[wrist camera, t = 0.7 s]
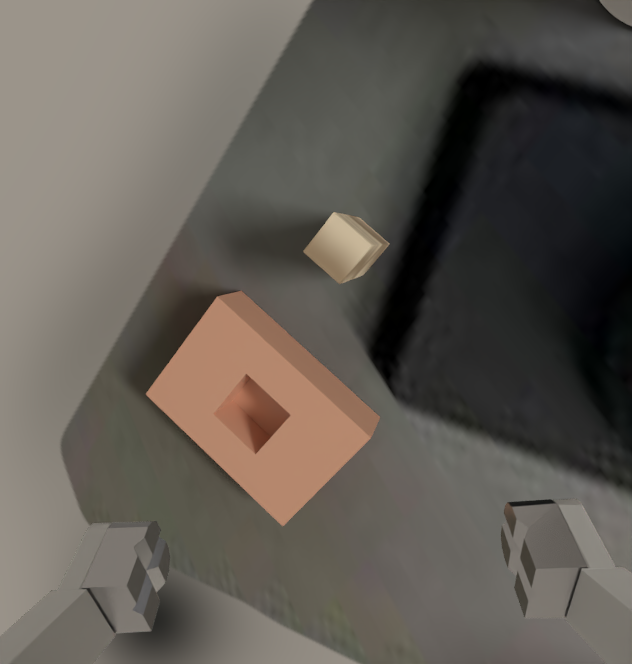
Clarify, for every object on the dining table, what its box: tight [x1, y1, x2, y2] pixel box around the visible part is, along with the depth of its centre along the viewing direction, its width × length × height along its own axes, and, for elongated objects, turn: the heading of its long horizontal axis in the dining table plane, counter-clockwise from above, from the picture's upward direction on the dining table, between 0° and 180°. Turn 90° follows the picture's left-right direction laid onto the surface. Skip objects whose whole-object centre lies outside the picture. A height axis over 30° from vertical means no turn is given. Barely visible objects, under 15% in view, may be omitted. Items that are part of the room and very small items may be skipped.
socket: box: [146, 291, 380, 526], centre depth 51 cm, size 14×20×6 cm
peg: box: [303, 212, 389, 284], centre depth 43 cm, size 4×4×10 cm
